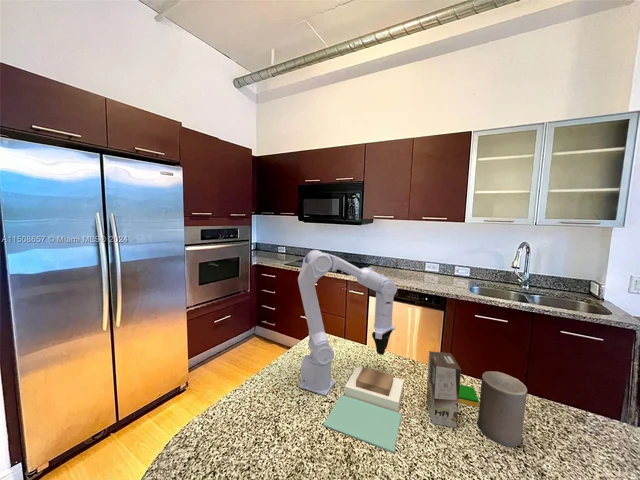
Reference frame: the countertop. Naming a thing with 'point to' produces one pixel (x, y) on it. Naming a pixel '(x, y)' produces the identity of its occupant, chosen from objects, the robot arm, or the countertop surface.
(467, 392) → the dish sponge
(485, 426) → the pillar candle
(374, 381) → the walnut coaster
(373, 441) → the sage mat
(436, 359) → the coffee box
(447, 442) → the countertop surface
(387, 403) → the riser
